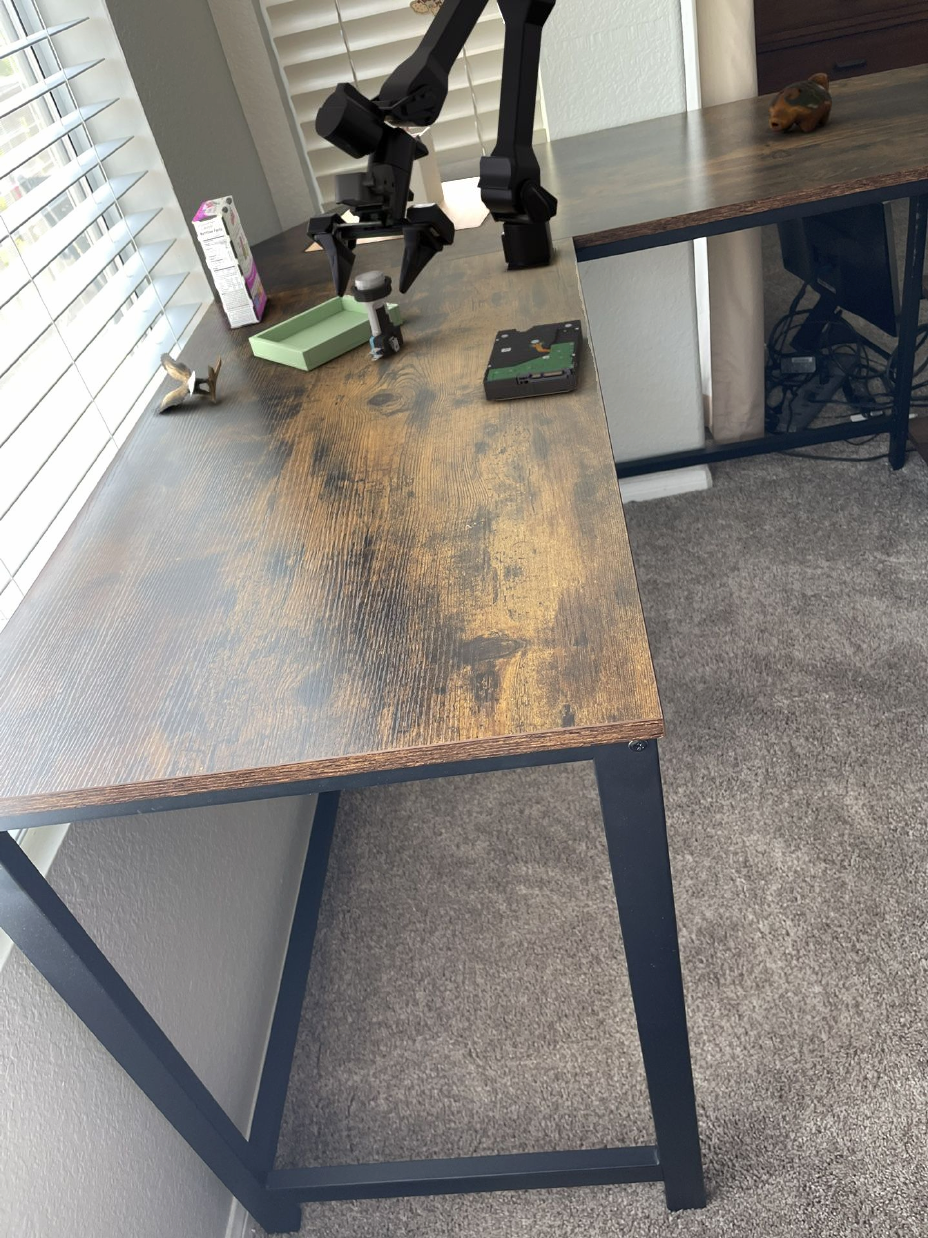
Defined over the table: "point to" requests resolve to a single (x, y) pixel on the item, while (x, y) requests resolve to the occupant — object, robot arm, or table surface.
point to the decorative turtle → (802, 105)
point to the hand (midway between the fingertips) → (370, 294)
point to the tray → (318, 333)
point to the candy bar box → (230, 261)
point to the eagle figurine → (187, 382)
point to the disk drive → (534, 361)
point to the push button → (378, 312)
